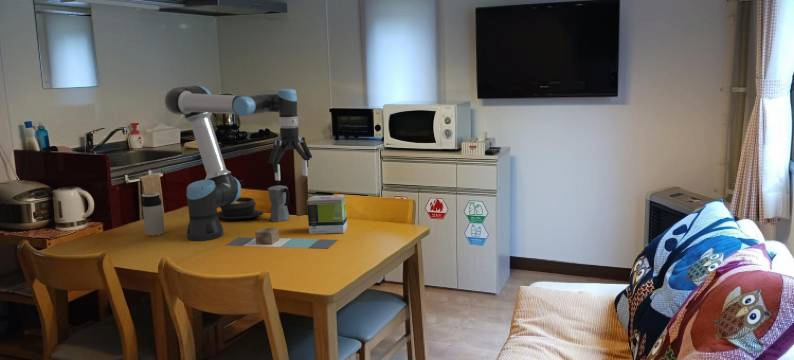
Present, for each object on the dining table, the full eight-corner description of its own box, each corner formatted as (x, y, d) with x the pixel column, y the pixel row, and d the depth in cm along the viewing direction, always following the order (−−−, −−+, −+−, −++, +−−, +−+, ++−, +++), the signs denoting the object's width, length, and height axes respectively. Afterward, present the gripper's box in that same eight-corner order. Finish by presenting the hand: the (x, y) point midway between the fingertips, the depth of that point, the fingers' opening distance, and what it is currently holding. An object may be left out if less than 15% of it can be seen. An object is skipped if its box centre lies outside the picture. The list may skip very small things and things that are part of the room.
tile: (243, 247, 265) (242, 245, 265) (256, 239, 276) (256, 237, 276) (280, 248, 261) (280, 246, 261) (291, 239, 272) (291, 238, 272)
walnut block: (256, 244, 266) (255, 232, 265) (263, 239, 273) (262, 227, 272) (272, 244, 264) (271, 232, 263) (279, 239, 271) (278, 228, 270)
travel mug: (149, 237, 284) (145, 196, 281) (142, 234, 290) (138, 194, 287) (167, 233, 289) (163, 193, 286) (160, 230, 295) (156, 191, 292)
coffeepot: (263, 219, 309) (260, 181, 305) (280, 215, 315) (277, 178, 312) (282, 224, 298) (279, 185, 294) (299, 220, 304) (296, 182, 301)
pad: (280, 248, 261) (280, 246, 261) (291, 239, 272) (291, 238, 272) (308, 249, 258) (308, 247, 258) (319, 240, 270) (319, 239, 270)
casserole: (272, 214, 318) (270, 197, 316) (248, 224, 301) (247, 206, 300) (230, 211, 328) (228, 195, 326) (205, 220, 311) (203, 203, 310)
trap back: (224, 246, 267) (224, 245, 267) (238, 238, 278) (238, 237, 278) (243, 247, 265) (242, 245, 265) (256, 239, 276) (256, 237, 276)
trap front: (308, 249, 258) (308, 247, 258) (319, 240, 270) (319, 239, 270) (328, 249, 256) (327, 248, 256) (337, 241, 268) (337, 239, 268)
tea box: (347, 227, 287) (345, 194, 285) (343, 233, 277) (341, 199, 275) (313, 228, 289) (311, 195, 286) (308, 234, 279) (306, 200, 276)
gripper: (268, 130, 260) (271, 183, 264) (318, 124, 277) (321, 174, 281) (257, 129, 265) (260, 180, 269) (308, 123, 282) (310, 172, 286)
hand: (291, 177), depth 275 cm, fingers open, 13 cm apart
